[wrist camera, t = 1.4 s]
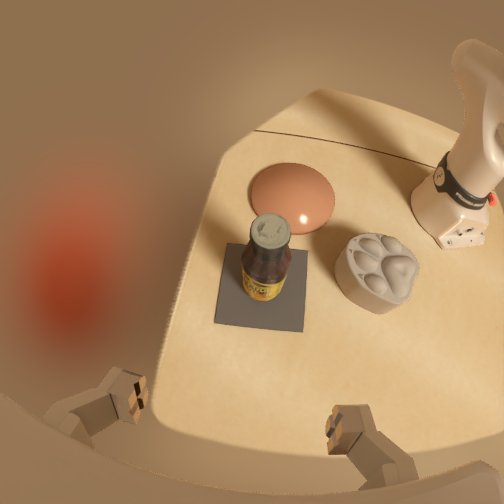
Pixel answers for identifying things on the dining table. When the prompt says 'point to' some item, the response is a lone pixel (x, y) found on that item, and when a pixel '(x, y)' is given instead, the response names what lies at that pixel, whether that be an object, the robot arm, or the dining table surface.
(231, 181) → the dining table surface
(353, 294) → the lumpy-topped squat cylinder
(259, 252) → the sauce bottle
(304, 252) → the rubber mat
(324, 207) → the terracotta plate
